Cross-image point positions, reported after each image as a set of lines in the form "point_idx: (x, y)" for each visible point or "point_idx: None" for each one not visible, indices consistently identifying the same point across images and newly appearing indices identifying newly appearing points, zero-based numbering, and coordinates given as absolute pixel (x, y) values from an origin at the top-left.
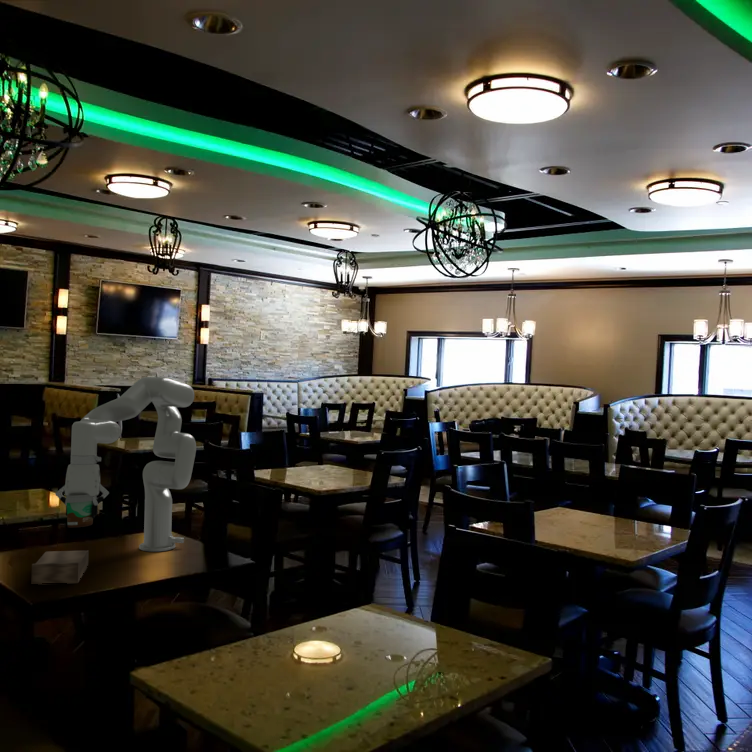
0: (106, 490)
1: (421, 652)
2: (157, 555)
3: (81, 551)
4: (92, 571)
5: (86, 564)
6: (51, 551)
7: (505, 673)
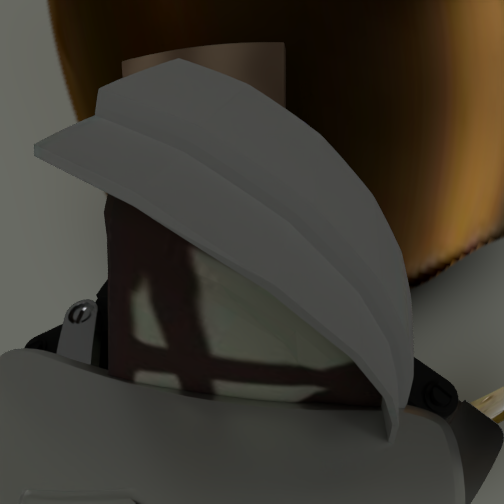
0: (475, 477)
1: (495, 414)
2: (484, 3)
3: (256, 57)
4: (311, 124)
5: (285, 87)
6: (139, 58)
7: (497, 422)
